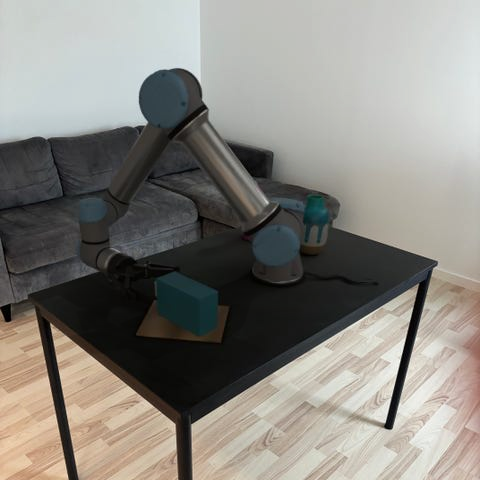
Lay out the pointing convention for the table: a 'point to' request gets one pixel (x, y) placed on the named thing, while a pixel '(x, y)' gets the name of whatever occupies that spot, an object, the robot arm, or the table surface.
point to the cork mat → (167, 329)
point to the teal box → (187, 303)
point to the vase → (314, 225)
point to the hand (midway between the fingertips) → (169, 291)
